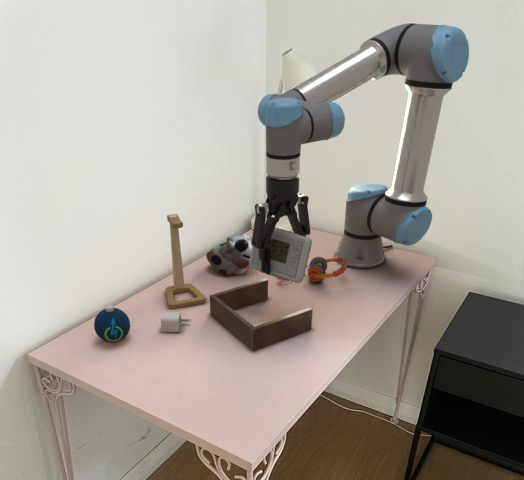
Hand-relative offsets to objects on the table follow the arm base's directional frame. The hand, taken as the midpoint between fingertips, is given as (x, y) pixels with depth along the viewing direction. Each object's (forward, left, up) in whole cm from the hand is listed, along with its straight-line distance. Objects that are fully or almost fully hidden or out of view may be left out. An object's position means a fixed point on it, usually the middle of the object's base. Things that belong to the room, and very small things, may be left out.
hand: (280, 267), depth 133 cm
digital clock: (+1, 0, -2) cm, 2 cm away
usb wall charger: (+25, -10, -15) cm, 30 cm away
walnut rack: (+6, -1, -15) cm, 15 cm away
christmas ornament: (+40, -14, -15) cm, 45 cm away
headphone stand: (+16, -24, -15) cm, 32 cm away
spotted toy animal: (-6, -32, -15) cm, 36 cm away
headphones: (-22, -14, -15) cm, 30 cm away
